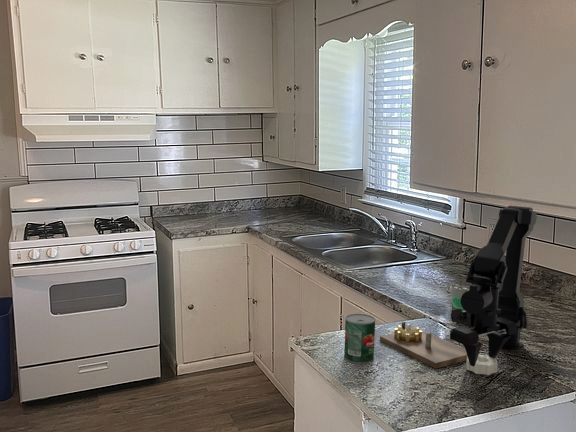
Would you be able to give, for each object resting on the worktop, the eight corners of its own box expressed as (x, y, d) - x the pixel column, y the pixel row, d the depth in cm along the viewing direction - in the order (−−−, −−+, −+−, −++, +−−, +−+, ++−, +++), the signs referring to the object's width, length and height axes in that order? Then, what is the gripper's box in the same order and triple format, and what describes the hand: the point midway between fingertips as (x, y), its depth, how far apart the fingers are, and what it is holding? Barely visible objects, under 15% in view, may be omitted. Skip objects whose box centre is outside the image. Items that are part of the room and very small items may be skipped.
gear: (408, 331, 174) (409, 318, 173) (427, 339, 167) (427, 326, 167) (388, 336, 170) (389, 322, 169) (406, 344, 164) (407, 330, 163)
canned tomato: (343, 352, 162) (344, 313, 160) (372, 352, 161) (373, 313, 160) (344, 363, 154) (346, 323, 152) (375, 364, 153) (377, 323, 152)
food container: (440, 315, 194) (442, 286, 192) (449, 311, 198) (451, 282, 196) (476, 324, 185) (478, 293, 184) (485, 320, 190) (487, 290, 188)
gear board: (416, 332, 177) (417, 315, 176) (473, 358, 159) (475, 338, 158) (379, 341, 170) (380, 322, 169) (435, 368, 152) (436, 348, 151)
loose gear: (479, 361, 157) (480, 352, 156) (502, 371, 150) (503, 361, 150) (460, 366, 153) (460, 357, 152) (482, 377, 147) (483, 367, 146)
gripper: (485, 291, 160) (481, 346, 163) (435, 300, 151) (432, 359, 153) (520, 302, 151) (516, 360, 154) (469, 313, 142) (465, 375, 144)
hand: (481, 363), depth 151 cm, fingers closed on loose gear, 7 cm apart
